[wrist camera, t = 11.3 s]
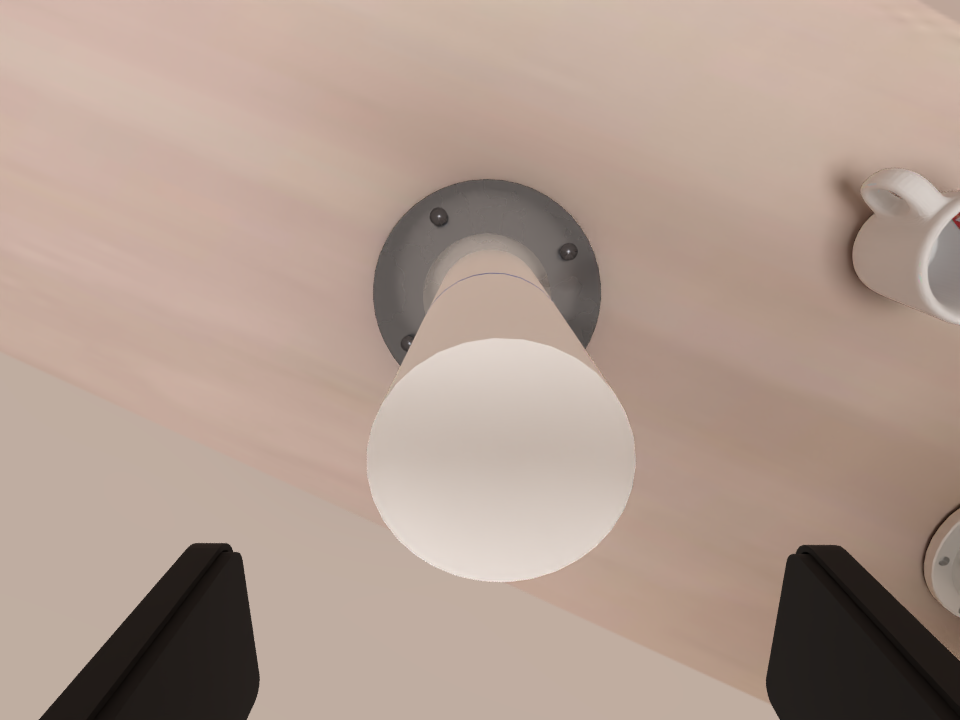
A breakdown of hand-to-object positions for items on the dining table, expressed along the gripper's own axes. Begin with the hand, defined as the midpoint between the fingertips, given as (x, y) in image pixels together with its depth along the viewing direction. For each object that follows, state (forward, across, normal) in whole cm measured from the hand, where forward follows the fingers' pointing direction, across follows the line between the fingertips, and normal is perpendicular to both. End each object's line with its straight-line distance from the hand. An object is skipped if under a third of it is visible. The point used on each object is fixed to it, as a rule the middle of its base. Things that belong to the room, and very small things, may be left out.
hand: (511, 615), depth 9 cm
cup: (+32, -27, -5) cm, 42 cm away
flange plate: (+32, 0, 0) cm, 32 cm away
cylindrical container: (+31, 0, 0) cm, 31 cm away
